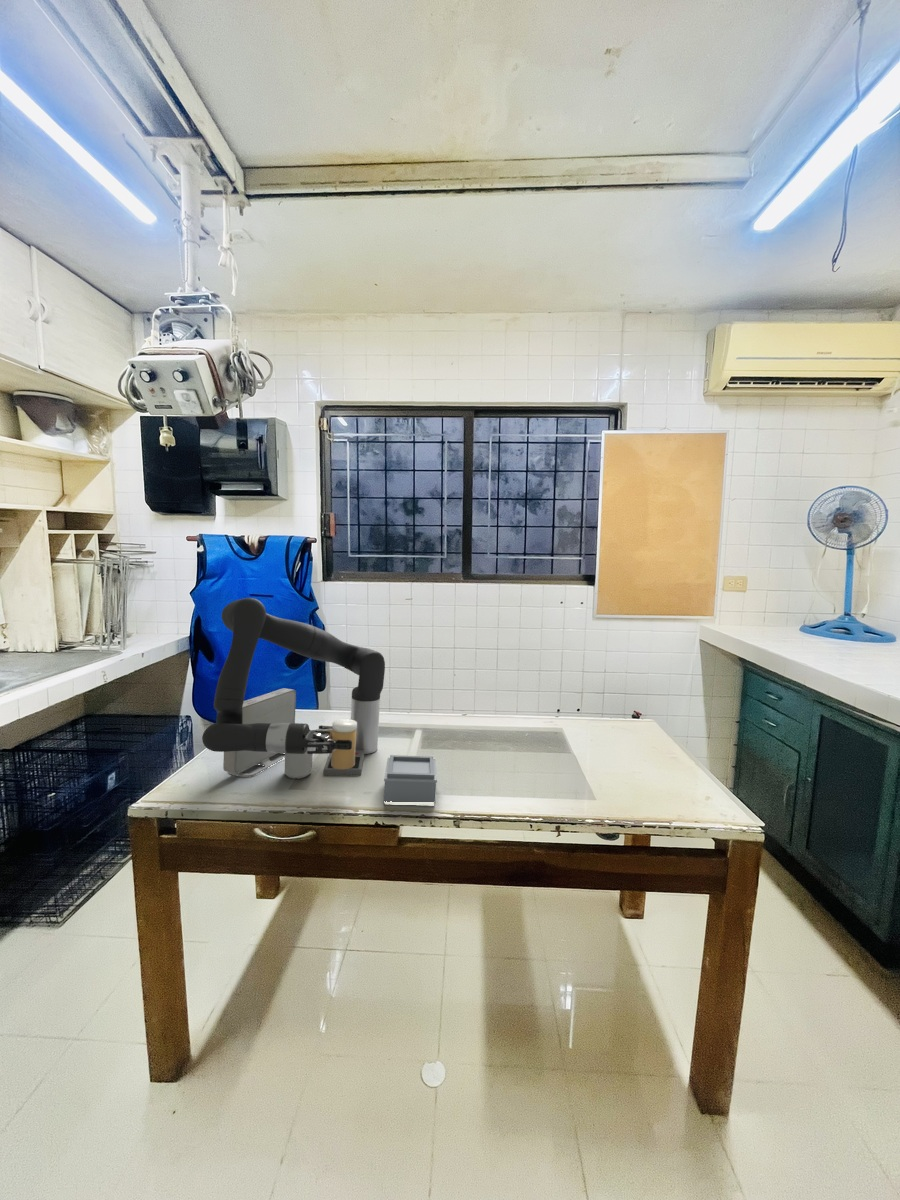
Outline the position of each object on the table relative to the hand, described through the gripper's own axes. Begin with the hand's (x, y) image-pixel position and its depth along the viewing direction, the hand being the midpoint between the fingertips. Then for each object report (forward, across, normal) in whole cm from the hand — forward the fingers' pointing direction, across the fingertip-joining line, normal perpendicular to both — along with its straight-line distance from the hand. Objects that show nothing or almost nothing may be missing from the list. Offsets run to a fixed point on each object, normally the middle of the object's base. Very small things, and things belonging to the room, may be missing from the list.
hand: (353, 740), depth 121 cm
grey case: (+15, +2, +15) cm, 21 cm away
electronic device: (-5, +19, +16) cm, 25 cm away
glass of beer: (-2, 0, +6) cm, 7 cm away
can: (-17, +12, +15) cm, 25 cm away
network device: (-29, +18, +15) cm, 38 cm away
